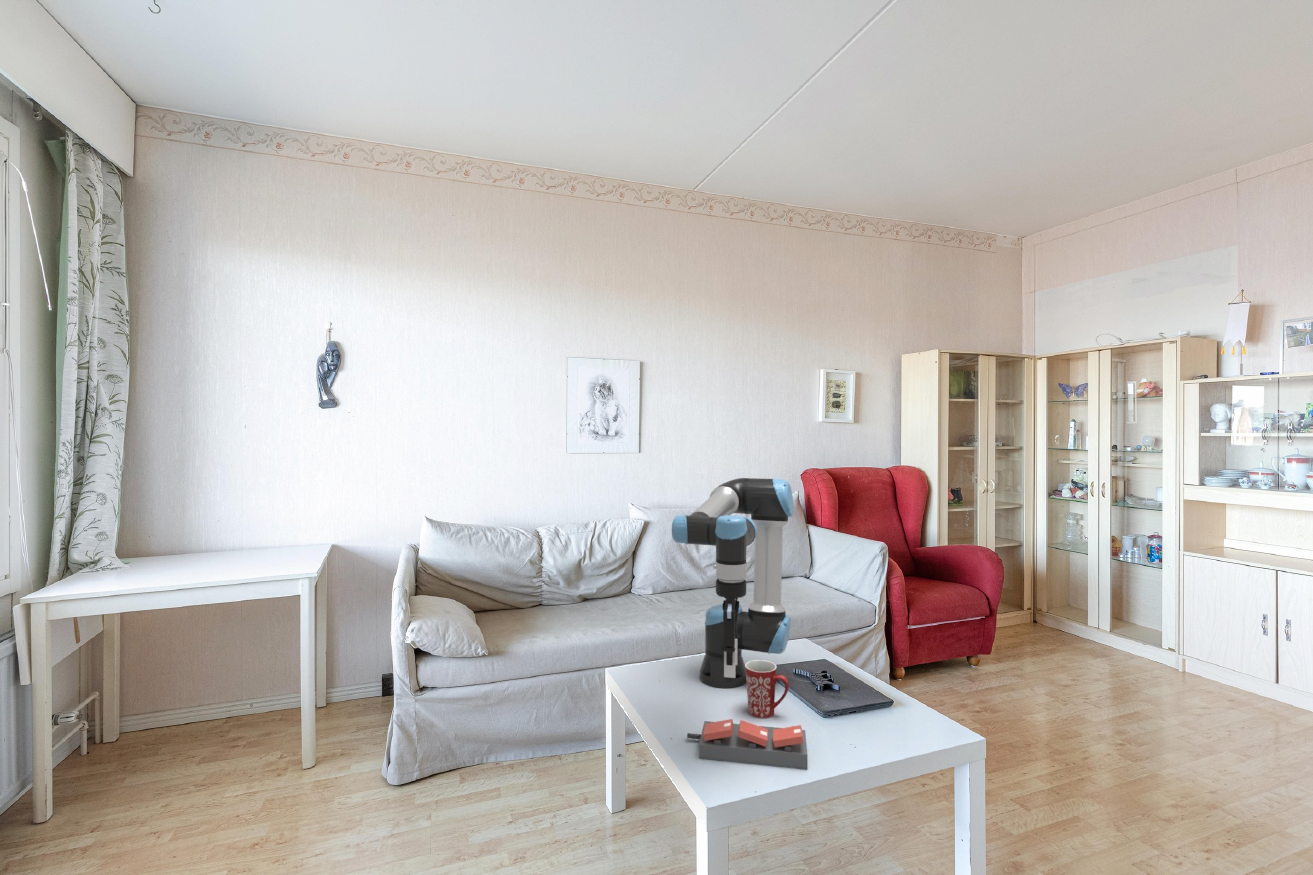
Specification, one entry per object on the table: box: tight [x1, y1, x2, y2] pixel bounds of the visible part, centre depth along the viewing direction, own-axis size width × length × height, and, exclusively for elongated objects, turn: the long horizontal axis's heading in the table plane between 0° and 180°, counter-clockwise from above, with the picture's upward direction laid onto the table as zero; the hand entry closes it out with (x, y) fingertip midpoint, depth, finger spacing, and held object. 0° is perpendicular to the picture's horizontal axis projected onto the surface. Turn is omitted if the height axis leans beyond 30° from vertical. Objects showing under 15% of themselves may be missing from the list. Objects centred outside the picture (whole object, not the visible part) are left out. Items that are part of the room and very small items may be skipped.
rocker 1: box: [703, 718, 735, 741], centre depth 156 cm, size 6×7×2 cm
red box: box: [738, 719, 768, 747], centre depth 154 cm, size 6×7×2 cm
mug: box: [744, 659, 790, 719], centre depth 176 cm, size 13×9×14 cm
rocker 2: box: [773, 724, 803, 747], centre depth 153 cm, size 6×7×2 cm
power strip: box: [686, 720, 808, 770], centre depth 157 cm, size 12×30×5 cm, turn 79°
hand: (730, 670), depth 155 cm, fingers open, 7 cm apart
